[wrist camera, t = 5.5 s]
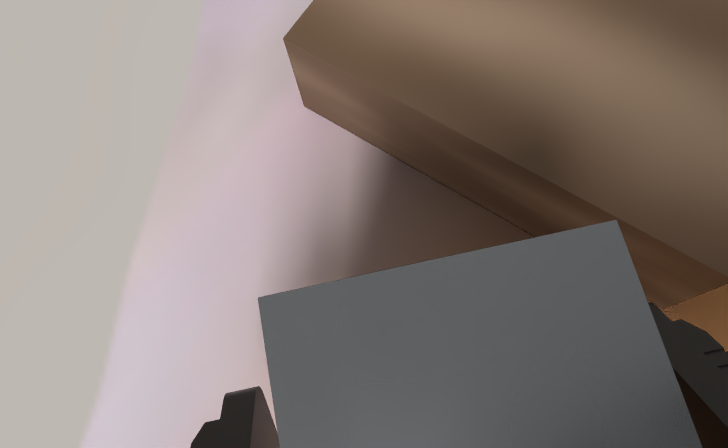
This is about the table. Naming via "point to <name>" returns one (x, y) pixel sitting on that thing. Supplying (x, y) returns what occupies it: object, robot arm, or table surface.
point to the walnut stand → (545, 113)
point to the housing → (478, 353)
